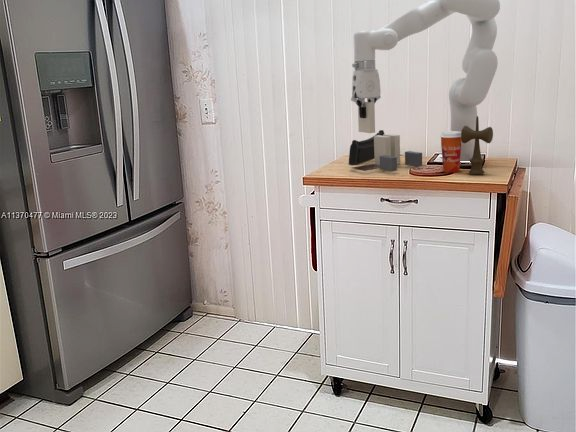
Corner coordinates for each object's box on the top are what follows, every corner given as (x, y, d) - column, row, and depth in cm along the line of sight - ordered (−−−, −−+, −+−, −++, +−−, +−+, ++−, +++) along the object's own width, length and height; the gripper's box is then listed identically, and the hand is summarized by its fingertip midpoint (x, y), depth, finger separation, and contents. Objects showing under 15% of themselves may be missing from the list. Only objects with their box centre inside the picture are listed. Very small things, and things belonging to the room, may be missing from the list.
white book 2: (391, 165, 226) (390, 136, 223) (386, 166, 225) (385, 137, 222) (379, 163, 232) (378, 135, 229) (374, 164, 231) (373, 135, 228)
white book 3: (400, 163, 228) (399, 135, 225) (395, 164, 227) (394, 135, 224) (388, 161, 234) (388, 133, 231) (383, 162, 233) (383, 134, 230)
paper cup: (438, 173, 212) (438, 134, 208) (441, 169, 219) (441, 131, 215) (461, 173, 209) (461, 133, 205) (463, 169, 216) (464, 130, 212)
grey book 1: (397, 173, 217) (396, 157, 215) (392, 174, 216) (391, 158, 214) (385, 171, 223) (384, 155, 221) (379, 172, 221) (379, 156, 220)
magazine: (351, 146, 228) (384, 114, 248) (344, 145, 230) (377, 114, 250) (359, 185, 236) (390, 151, 256) (352, 184, 238) (383, 151, 258)
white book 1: (375, 132, 219) (374, 102, 216) (369, 133, 218) (369, 102, 215) (363, 131, 225) (362, 101, 222) (358, 131, 224) (357, 102, 221)
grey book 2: (422, 168, 222) (422, 152, 221) (417, 169, 221) (417, 153, 220) (409, 166, 228) (409, 150, 227) (405, 167, 227) (404, 151, 225)
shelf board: (401, 167, 228) (401, 164, 228) (364, 174, 220) (364, 170, 220) (386, 164, 236) (386, 161, 235) (350, 170, 228) (350, 167, 227)
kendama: (466, 171, 212) (466, 114, 206) (493, 173, 206) (494, 115, 201) (459, 175, 207) (460, 116, 202) (487, 176, 201) (488, 117, 196)
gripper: (352, 67, 208) (354, 120, 213) (389, 64, 216) (390, 115, 221) (340, 67, 215) (342, 119, 219) (376, 65, 222) (377, 114, 227)
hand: (366, 117), depth 220 cm, fingers closed on white book 1, 2 cm apart
